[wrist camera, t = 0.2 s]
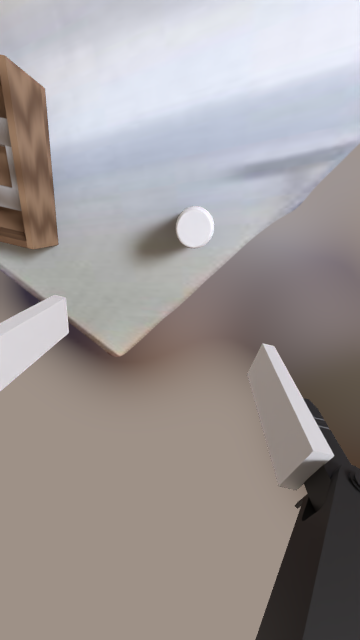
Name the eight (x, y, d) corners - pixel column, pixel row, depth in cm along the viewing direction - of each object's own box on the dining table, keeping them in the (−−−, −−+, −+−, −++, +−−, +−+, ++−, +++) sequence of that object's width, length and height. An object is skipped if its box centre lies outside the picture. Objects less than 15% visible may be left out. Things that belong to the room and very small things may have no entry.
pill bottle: (178, 241, 36) (170, 249, 28) (181, 206, 34) (174, 201, 25) (209, 244, 36) (211, 253, 27) (214, 209, 33) (219, 206, 25)
